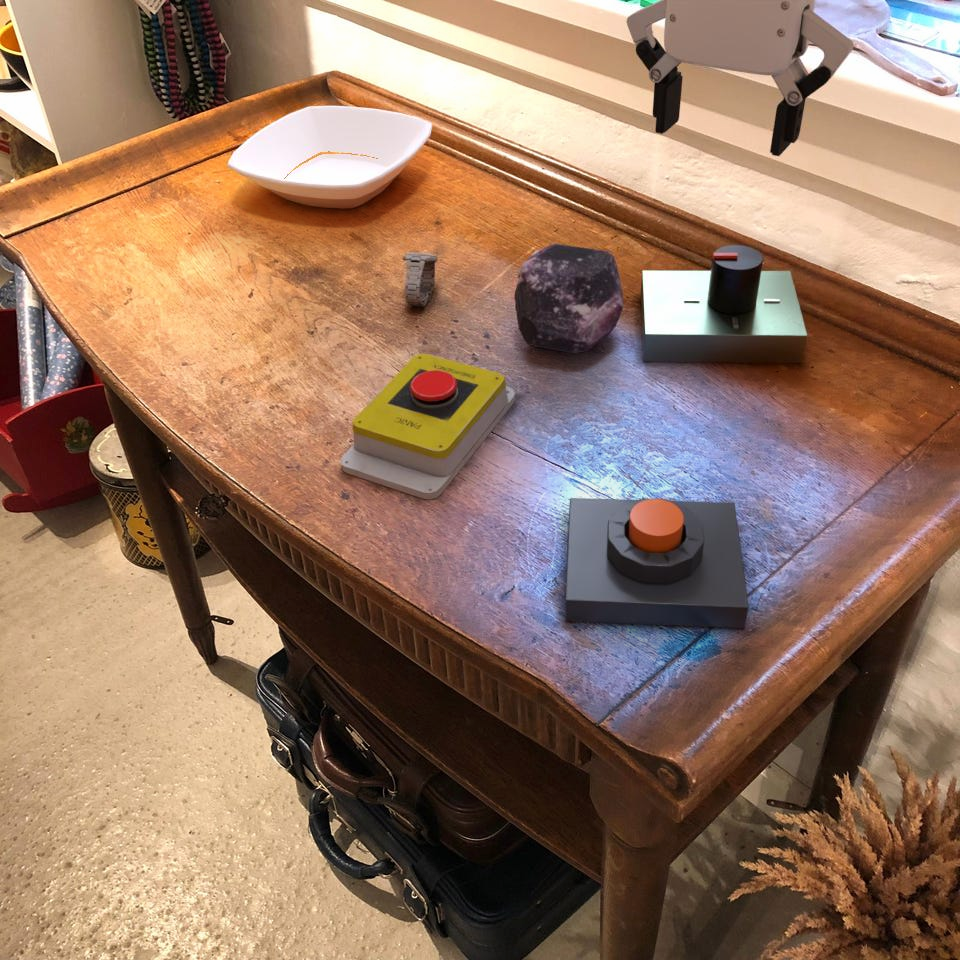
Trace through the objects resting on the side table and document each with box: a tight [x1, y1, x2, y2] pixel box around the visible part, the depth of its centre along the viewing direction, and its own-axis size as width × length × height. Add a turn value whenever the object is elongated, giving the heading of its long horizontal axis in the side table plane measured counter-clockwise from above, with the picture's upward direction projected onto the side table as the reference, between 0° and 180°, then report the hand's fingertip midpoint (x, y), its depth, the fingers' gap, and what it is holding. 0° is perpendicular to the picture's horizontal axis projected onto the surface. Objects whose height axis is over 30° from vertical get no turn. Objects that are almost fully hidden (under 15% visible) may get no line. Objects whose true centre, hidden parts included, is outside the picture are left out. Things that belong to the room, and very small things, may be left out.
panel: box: [640, 270, 808, 365], centre depth 90 cm, size 14×11×3 cm
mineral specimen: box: [513, 243, 624, 354], centre depth 88 cm, size 10×10×10 cm
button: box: [629, 498, 684, 553], centre depth 66 cm, size 4×4×2 cm
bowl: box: [226, 105, 433, 210], centre depth 117 cm, size 22×22×5 cm
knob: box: [707, 244, 764, 314], centre depth 87 cm, size 4×4×5 cm
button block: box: [564, 497, 750, 629], centre depth 68 cm, size 12×10×4 cm
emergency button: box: [340, 353, 517, 500], centre depth 81 cm, size 9×4×15 cm
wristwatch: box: [402, 252, 438, 307], centre depth 96 cm, size 4×6×5 cm, turn 168°
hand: (722, 138), depth 78 cm, fingers open, 9 cm apart
